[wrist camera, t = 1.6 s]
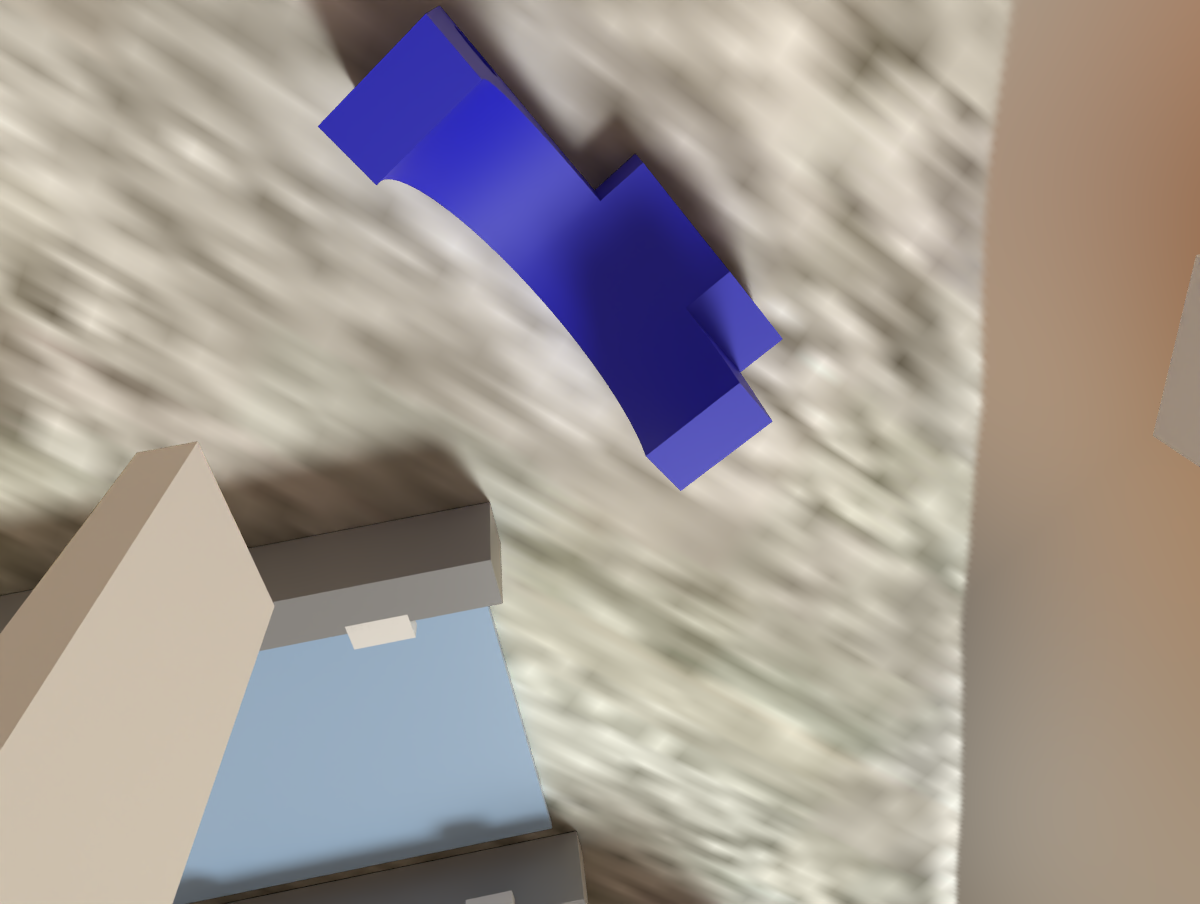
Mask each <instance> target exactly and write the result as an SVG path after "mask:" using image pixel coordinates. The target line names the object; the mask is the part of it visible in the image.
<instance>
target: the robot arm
mask: <svg viewBox="0 0 1200 904" xmlns="http://www.w3.org/2000/svg"><path fill="white" fill-rule="evenodd" d="M1153 436H1154V437H1156V438H1157V439H1159V440H1160V441H1162V442H1163V443H1165V444H1166V445H1168V446H1169V447H1171V448H1172V449H1174V450H1175V451H1177V452H1178V453H1180V454H1181V455H1183V456H1184V457H1186V458H1187V459H1189V460H1190V461H1192V462H1193V463H1195V464H1196V465H1198V466H1199V467H1200V255H1196V259H1195V263H1194V267H1193V271H1192V275H1191V279H1190V284H1189V288H1188V292H1187V296H1186V300H1185V304H1184V309H1183V313H1182V317H1181V322H1180V325H1179V329H1178V334H1177V338H1176V342H1175V346H1174V350H1173V354H1172V359H1171V363H1170V367H1169V371H1168V376H1167V379H1166V383H1165V388H1164V392H1163V396H1162V400H1161V404H1160V409H1159V413H1158V417H1157V421H1156V426H1155V429H1154V433H1153ZM273 609H274V604H273V602H272V599H271V597H270V595H269V593H268V591H267V589H266V587H265V584H264V582H263V580H262V578H261V576H260V574H259V572H258V569H257V567H256V565H255V563H254V561H253V559H252V557H251V554H250V552H249V550H248V548H247V546H246V544H245V542H244V539H243V537H242V535H241V533H240V531H239V529H238V527H237V524H236V522H235V520H234V518H233V516H232V514H231V512H230V509H229V507H228V505H227V503H226V501H225V499H224V497H223V494H222V492H221V490H220V488H219V486H218V484H217V482H216V479H215V477H214V475H213V473H212V471H211V469H210V467H209V464H208V462H207V460H206V458H205V456H204V454H203V452H202V449H201V447H200V445H199V443H198V441H197V442H192V443H187V444H181V445H176V446H170V447H165V448H160V449H154V450H149V451H144V452H138V453H136V455H135V456H134V457H133V459H132V460H131V461H130V463H129V464H128V465H127V466H126V468H125V469H124V470H123V472H122V473H121V474H120V476H119V477H118V478H117V480H116V481H115V482H114V484H113V485H112V486H111V488H110V489H109V490H108V492H107V493H106V494H105V496H104V497H103V498H102V500H101V501H100V502H99V504H98V505H97V506H96V508H95V509H94V510H93V512H92V513H91V514H90V515H89V517H88V518H87V519H86V521H85V522H84V523H83V525H82V526H81V527H80V529H79V530H78V531H77V533H76V534H75V535H74V537H73V538H72V539H71V541H70V542H69V543H68V545H67V546H66V547H65V549H64V550H63V551H62V553H61V554H60V555H59V557H58V558H57V559H56V561H55V562H54V563H53V564H52V566H51V567H50V568H49V570H48V571H47V572H46V574H45V575H44V576H43V578H42V579H41V580H40V582H39V583H38V584H37V586H36V587H35V588H34V590H33V591H32V592H31V594H30V595H29V596H28V598H27V599H26V600H25V602H24V603H23V604H22V606H21V607H20V608H19V610H18V611H17V612H16V613H15V615H14V616H13V617H12V619H11V620H10V621H9V623H8V624H7V625H6V627H5V628H4V629H3V631H2V632H1V633H0V904H173V901H174V898H175V895H176V892H177V889H178V886H179V883H180V880H181V877H182V874H183V872H184V869H185V866H186V863H187V860H188V857H189V854H190V851H191V848H192V845H193V842H194V839H195V837H196V834H197V831H198V828H199V825H200V822H201V819H202V816H203V813H204V810H205V807H206V804H207V802H208V799H209V796H210V793H211V790H212V787H213V784H214V781H215V778H216V775H217V772H218V770H219V767H220V764H221V761H222V758H223V755H224V752H225V749H226V746H227V743H228V740H229V737H230V735H231V732H232V729H233V726H234V723H235V720H236V717H237V714H238V711H239V708H240V705H241V702H242V700H243V697H244V694H245V691H246V688H247V685H248V682H249V679H250V676H251V673H252V670H253V667H254V665H255V662H256V659H257V656H258V653H259V650H260V647H261V644H262V641H263V638H264V635H265V632H266V630H267V627H268V624H269V621H270V618H271V615H272V612H273Z"/></svg>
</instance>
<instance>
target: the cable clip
mask: <svg viewBox="0 0 1200 904" xmlns="http://www.w3.org/2000/svg"><path fill="white" fill-rule="evenodd" d="M318 127H319V128H320V129H321V130H322V131H323V132H324V133H325V134H326V135H327V136H328V137H329V138H330V139H331V140H332V141H333V142H334V143H335V144H336V145H337V146H338V147H339V148H340V149H341V150H342V151H343V152H344V153H345V154H346V155H347V156H348V157H349V158H350V159H351V160H352V161H353V162H354V163H355V164H356V165H357V166H358V167H359V168H360V169H361V170H362V171H363V172H364V173H365V174H366V175H367V176H368V177H369V178H370V179H371V180H372V181H373V182H374V183H375V184H376V185H377V184H378V183H379V182H380V181H382V180H385V179H393V180H397V181H400V182H403V183H405V184H408V185H410V186H412V187H414V188H416V189H418V190H419V191H421V192H423V193H424V194H426V195H428V196H429V197H431V198H432V199H434V200H435V201H436V202H438V203H439V204H441V205H442V206H443V207H445V208H446V209H447V210H449V211H450V212H451V213H453V214H454V215H455V216H456V217H458V218H459V219H460V220H461V221H462V222H464V223H465V224H466V225H467V226H468V227H469V228H471V229H472V230H473V231H474V232H475V233H476V234H477V235H478V236H480V237H481V238H482V239H483V240H484V241H485V242H486V243H487V244H488V245H489V246H490V247H491V248H492V249H494V250H495V251H496V252H497V253H498V254H499V255H500V256H501V257H502V258H503V259H504V260H505V261H506V262H507V263H508V264H509V265H510V266H511V267H512V268H513V269H514V270H515V271H516V273H517V274H518V275H519V276H520V277H521V278H522V279H523V280H524V281H525V282H526V283H527V284H528V285H529V286H530V287H531V289H532V290H533V291H534V292H535V293H536V294H537V295H538V296H539V297H540V299H541V300H542V301H543V302H544V303H545V304H546V305H547V307H548V308H549V309H550V310H551V311H552V312H553V314H554V315H555V316H556V317H557V318H558V320H559V321H560V322H561V323H562V324H563V326H564V327H565V328H566V329H567V331H568V332H569V333H570V334H571V336H572V337H573V338H574V339H575V341H576V342H577V343H578V344H579V346H580V347H581V348H582V350H583V351H584V352H585V354H586V355H587V356H588V358H589V359H590V360H591V362H592V363H593V365H594V366H595V367H596V369H597V370H598V372H599V373H600V374H601V376H602V377H603V379H604V380H605V382H606V383H607V385H608V386H609V388H610V389H611V391H612V392H613V394H614V395H615V397H616V399H617V400H618V402H619V403H620V405H621V407H622V408H623V410H624V412H625V414H626V415H627V417H628V419H629V421H630V422H631V424H632V426H633V428H634V430H635V432H636V434H637V436H638V438H639V440H640V443H641V445H642V447H643V450H644V452H645V455H646V457H647V458H648V459H649V460H650V461H651V462H652V463H653V464H654V465H655V466H656V467H657V468H658V469H659V470H660V471H661V472H662V473H663V474H664V475H665V476H666V477H667V478H668V479H669V480H670V481H671V482H672V483H673V484H674V485H675V486H676V487H677V488H678V489H679V490H680V491H681V490H683V489H684V488H685V487H686V486H688V485H689V484H690V483H692V482H693V481H694V480H696V479H697V478H698V477H700V476H701V475H702V474H704V473H705V472H706V471H708V470H709V469H710V468H712V467H713V466H714V465H716V464H717V463H718V462H720V461H721V460H722V459H724V458H725V457H726V456H727V455H729V454H730V453H731V452H733V451H734V450H735V449H737V448H738V447H739V446H741V445H742V444H743V443H745V442H746V441H747V440H749V439H750V438H751V437H753V436H754V435H755V434H757V433H758V432H759V431H761V430H762V429H763V428H764V427H766V426H767V425H768V424H770V423H771V422H772V420H771V418H770V417H769V415H768V414H767V412H766V411H765V409H764V408H763V406H762V405H761V403H760V402H759V400H758V399H757V397H756V396H755V394H754V393H753V391H752V389H751V388H750V386H749V385H748V383H747V382H746V380H745V379H744V377H743V376H742V374H741V373H740V372H741V371H743V370H744V369H745V368H746V367H748V366H749V365H750V364H751V363H753V362H754V361H755V360H757V359H758V358H759V357H760V356H762V355H763V354H764V353H765V352H767V351H768V350H769V349H771V348H772V347H773V346H774V345H776V344H777V343H778V342H780V341H781V340H782V338H781V336H780V335H779V334H778V332H777V331H776V330H775V329H774V327H773V326H772V325H771V324H770V322H769V321H768V320H767V318H766V317H765V316H764V315H763V313H762V312H761V311H760V309H759V308H758V307H757V306H756V304H755V303H754V302H753V301H752V299H751V298H750V297H749V295H748V294H747V293H746V292H745V290H744V289H743V288H742V287H741V285H740V284H739V283H738V281H737V280H736V279H735V278H734V276H733V275H732V274H731V272H730V271H729V270H728V269H727V267H726V266H725V265H724V264H723V263H722V261H721V260H720V259H719V258H718V256H717V255H716V254H715V253H714V251H713V250H712V249H711V248H710V246H709V245H708V244H707V243H706V241H705V240H704V239H703V238H702V236H701V235H700V234H699V233H698V231H697V230H696V229H695V228H694V226H693V225H692V224H691V222H690V221H689V220H688V219H687V217H686V216H685V215H684V214H683V212H682V211H681V210H680V209H679V207H678V206H677V205H676V204H675V202H674V201H673V200H672V199H671V197H670V196H669V195H668V193H667V192H666V191H665V190H664V188H663V187H662V186H661V185H660V183H659V182H658V181H657V180H656V178H655V177H654V176H653V174H652V173H651V172H650V171H649V169H648V168H647V167H646V166H645V164H644V163H643V162H642V161H641V160H640V158H639V157H638V156H637V155H636V154H634V155H633V156H632V157H631V158H630V159H629V160H628V161H626V162H625V163H624V164H623V165H622V166H621V167H620V168H619V169H618V170H616V171H615V172H614V173H613V174H612V175H611V176H610V177H609V178H608V179H607V180H605V181H604V182H603V183H602V184H601V185H600V186H599V187H598V188H597V189H595V190H594V189H593V188H592V187H591V186H590V184H589V183H588V182H587V181H586V180H585V179H584V177H583V176H582V175H581V174H580V173H579V171H578V170H577V169H576V168H575V167H574V165H573V164H572V163H571V162H570V161H569V159H568V158H567V157H566V156H565V155H564V153H563V152H562V151H561V150H560V149H559V147H558V146H557V145H556V144H555V143H554V141H553V140H552V139H551V138H550V137H549V135H548V134H547V133H546V132H545V131H544V130H543V128H542V127H541V126H540V125H539V124H538V122H537V121H536V120H535V119H534V118H533V116H532V115H531V114H530V113H529V112H528V110H527V109H526V108H525V107H524V106H523V104H522V103H521V102H520V101H519V100H518V98H517V97H516V96H515V95H514V94H513V92H512V91H511V90H510V89H509V88H508V86H507V85H506V84H505V83H504V82H503V81H502V79H501V78H500V77H499V76H498V75H497V73H496V72H495V71H494V70H493V69H492V67H491V66H490V65H489V64H488V63H487V61H486V60H485V59H484V58H483V57H482V55H481V54H480V53H479V52H478V51H477V49H476V48H475V47H474V46H473V45H472V43H471V42H470V41H469V40H468V39H467V37H466V36H465V35H464V34H463V33H462V32H461V30H460V29H459V28H458V27H457V26H456V24H455V23H454V22H453V21H452V20H451V18H450V17H449V16H448V15H447V14H446V12H445V11H444V10H443V9H442V8H441V6H438V7H436V8H434V9H433V10H431V11H429V12H428V13H426V14H425V15H424V16H423V17H422V18H421V19H420V20H419V21H418V22H417V23H416V24H415V25H414V26H413V27H412V29H411V30H410V31H409V32H408V33H407V34H406V35H405V36H404V37H403V38H402V39H401V40H400V41H399V42H398V43H397V44H396V45H395V46H394V47H393V48H392V49H391V50H390V52H389V53H388V54H387V55H386V56H385V57H384V58H383V59H382V60H381V61H380V62H379V63H378V64H377V65H376V66H375V67H374V68H373V69H372V70H371V71H370V72H369V73H368V74H367V76H366V77H365V78H364V79H363V80H362V81H361V82H360V83H359V84H358V85H357V86H356V87H355V88H354V89H353V90H352V91H351V92H350V93H349V94H348V95H347V96H346V97H345V99H344V100H343V101H342V102H341V103H340V104H339V105H338V106H337V107H336V108H335V109H334V110H333V111H332V112H331V113H330V114H329V115H328V116H327V117H326V118H325V119H324V120H323V121H322V123H321V124H320V125H319V126H318Z"/></svg>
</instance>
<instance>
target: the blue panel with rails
mask: <svg viewBox="0 0 1200 904" xmlns="http://www.w3.org/2000/svg"><path fill="white" fill-rule="evenodd" d="M248 550H249V552H250V554H251V557H252V559H253V561H254V563H255V565H256V567H257V569H258V572H259V574H260V576H261V578H262V580H263V582H264V584H265V587H266V589H267V591H268V593H269V595H270V597H271V599H272V602H273V604H274V609H273V612H272V615H271V618H270V621H269V624H268V627H267V630H266V632H265V635H264V638H263V641H262V644H261V647H260V650H259V653H258V656H257V659H256V662H255V665H254V667H253V670H252V673H251V676H250V679H249V682H248V685H247V688H246V691H245V694H244V697H243V700H242V702H241V705H240V708H239V711H238V714H237V717H236V720H235V723H234V726H233V729H232V732H231V735H230V737H229V740H228V743H227V746H226V749H225V752H224V755H223V758H222V761H221V764H220V767H219V770H218V772H217V775H216V778H215V781H214V784H213V787H212V790H211V793H210V796H209V799H208V802H207V804H206V807H205V810H204V813H203V816H202V819H201V822H200V825H199V828H198V831H197V834H196V837H195V839H194V842H193V845H192V848H191V851H190V854H189V857H188V860H187V863H186V866H185V869H184V872H183V874H182V877H181V880H180V883H179V886H178V889H177V892H176V895H175V898H174V901H173V904H188V903H193V902H198V901H203V900H207V899H212V898H217V897H222V896H227V895H232V894H237V893H241V892H246V891H251V890H256V889H261V888H266V887H271V886H275V885H280V884H285V883H290V882H295V881H300V880H305V879H309V878H314V877H319V876H324V875H329V874H334V873H338V872H343V871H348V870H353V869H358V868H363V867H368V866H372V865H377V864H382V863H387V862H392V861H397V860H402V859H406V858H411V857H416V856H421V855H426V854H431V853H436V852H440V851H445V850H450V849H455V848H460V847H465V846H470V845H474V844H479V843H484V842H489V841H494V840H499V839H503V838H508V837H513V836H518V835H523V834H528V833H533V832H537V831H542V830H547V829H552V822H551V819H550V815H549V812H548V808H547V805H546V801H545V798H544V794H543V791H542V787H541V784H540V780H539V777H538V773H537V770H536V766H535V763H534V759H533V756H532V752H531V749H530V746H529V742H528V739H527V735H526V732H525V728H524V725H523V721H522V718H521V714H520V711H519V707H518V704H517V700H516V697H515V693H514V690H513V686H512V683H511V679H510V676H509V673H508V669H507V666H506V662H505V659H504V655H503V652H502V648H501V645H500V641H499V638H498V634H497V631H496V627H495V624H494V620H493V617H492V613H491V610H490V606H492V605H497V604H502V603H503V597H502V566H501V542H500V539H499V535H498V531H497V527H496V523H495V520H494V516H493V512H492V508H491V504H490V502H488V503H483V504H478V505H473V506H467V507H462V508H457V509H452V510H447V511H441V512H436V513H431V514H426V515H420V516H415V517H410V518H405V519H400V520H394V521H389V522H384V523H379V524H374V525H368V526H363V527H358V528H353V529H347V530H342V531H337V532H332V533H327V534H321V535H316V536H311V537H306V538H300V539H295V540H290V541H285V542H280V543H274V544H269V545H264V546H259V547H253V548H248ZM32 591H33V590H29V591H24V592H19V593H13V594H8V595H3V596H0V633H1V632H2V631H3V629H4V628H5V627H6V625H7V624H8V623H9V621H10V620H11V619H12V617H13V616H14V615H15V613H16V612H17V611H18V610H19V608H20V607H21V606H22V604H23V603H24V602H25V600H26V599H27V598H28V596H29V595H30V594H31V592H32ZM226 904H588V897H587V888H586V879H585V870H584V862H583V854H582V850H581V846H580V842H579V838H578V835H577V831H575V832H570V833H566V834H561V835H556V836H551V837H546V838H541V839H537V840H532V841H527V842H522V843H517V844H512V845H507V846H503V847H498V848H493V849H488V850H483V851H478V852H474V853H469V854H464V855H459V856H454V857H449V858H444V859H440V860H435V861H430V862H425V863H420V864H415V865H411V866H406V867H401V868H396V869H391V870H386V871H381V872H377V873H372V874H367V875H362V876H357V877H352V878H348V879H343V880H338V881H333V882H328V883H323V884H319V885H314V886H309V887H304V888H299V889H294V890H289V891H285V892H280V893H275V894H270V895H265V896H260V897H256V898H251V899H246V900H241V901H236V902H231V903H226Z"/></svg>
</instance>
